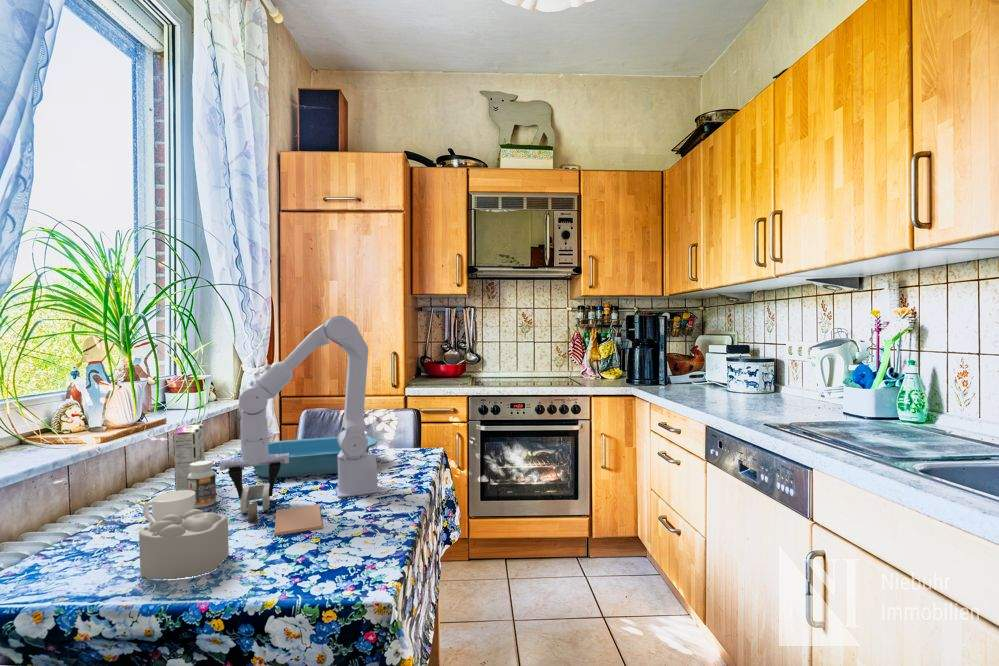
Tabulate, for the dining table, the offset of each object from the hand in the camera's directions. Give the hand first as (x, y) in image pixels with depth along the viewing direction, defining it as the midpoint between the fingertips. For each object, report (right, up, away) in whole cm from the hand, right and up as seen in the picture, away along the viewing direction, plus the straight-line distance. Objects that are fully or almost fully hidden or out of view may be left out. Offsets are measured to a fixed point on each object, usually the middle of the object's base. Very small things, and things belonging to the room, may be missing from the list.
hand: (256, 496), depth 120 cm
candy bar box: (-22, -3, +11) cm, 25 cm away
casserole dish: (+2, -2, +32) cm, 33 cm away
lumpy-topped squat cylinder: (+2, -3, -30) cm, 31 cm away
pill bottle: (-14, -3, +2) cm, 14 cm away
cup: (-12, -3, -13) cm, 18 cm away
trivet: (+14, -2, -10) cm, 17 cm away
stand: (+4, -2, -10) cm, 11 cm away
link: (0, -1, -1) cm, 2 cm away
